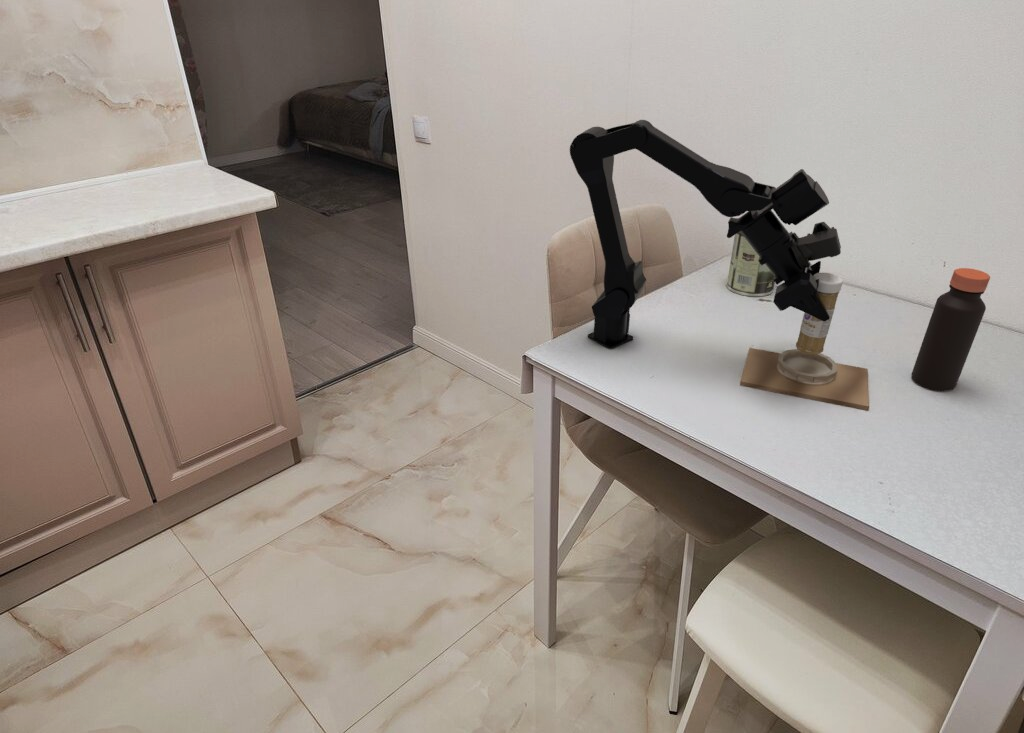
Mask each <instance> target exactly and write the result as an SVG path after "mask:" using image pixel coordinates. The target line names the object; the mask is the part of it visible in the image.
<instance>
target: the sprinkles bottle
mask: <svg viewBox="0 0 1024 733" xmlns="http://www.w3.org/2000/svg"><path fill="white" fill-rule="evenodd" d="M813 277H814V279H815V280H817V279H819V286H818V289H817V293H818V295H819V297H820V299H821V301H822V303H823V304H824V306H825V308H826V310H827V312H828V314H829V316H830V319H829V320H827V321H822V320H820V319H817V318H815V317H813V316H811V315H809V314H807V313H805V312H803V316H802V320H801V324H800V329H799V330H800V331H799V333H798V337H797V338H798V339H797V340H796V343H795V347H796V349H798V350H799V351H801V352H803V353H806V354H819V353H821V354H822V353H823V352H824V347H825V344H826V340H827V336H828V334H829V331H830V327H831V325H832V324H831V323H832V320H833V316H834V312H835V309H836V304H837V300H838V297H839V294H840V291H841V290H842V286H843V281H844V280H843V278H842V277H841V276H839V275H838V274H834V273H831V272H819V273H816V274H814V275H813Z"/></svg>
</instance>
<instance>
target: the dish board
mask: <svg viewBox="0 0 1024 733" xmlns="http://www.w3.org/2000/svg"><path fill="white" fill-rule="evenodd" d="M739 382H740V383H739V386H742V387H747V388H752V389H757V390H762V391H768V392H774V393H777V394H783V395H788V396H792V397H798V398H801V399H807V400H813V401H817V402H823V403H828V404H832V405H837V406H844V407H849V408H853V409H857V410H862V411H869V409H870V390H869V369H868V368H866V367H859V366H854V365H850V364H849V365H848V364H842V363H838V362H837V363H836V362H835V360H833V359H832V358H831V357H829V356H828V355H825V354H822V353H819V354H806V353H803V352H801V351H799V350H798V349H797V348H795V349H787V350H784V351H783V352H775V351H771V350H764V349H760V348H759V349H758V348H753V347H749V349H748V352H747V356H746V360H745V364H744V368H743V371H742V374H741V378H740V381H739Z"/></svg>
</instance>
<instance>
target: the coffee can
mask: <svg viewBox="0 0 1024 733" xmlns="http://www.w3.org/2000/svg"><path fill="white" fill-rule="evenodd" d="M758 260H759V255H758V254H757V253H756V252H755V250H754V249H753V248H752V246H751V245H750V244H749V243H748V241H747V240H746V239H745V237H744V236H743V235H742V234H741V232H738V233H737V234H735V235H734V236H733V244H732V250H731V257H730V261H729V262H730V263H729V268H728V269H729V270H728V274H727V281H726V288H727V289H728V290H729V291H731V292H733V293H735V294H737V295H740V296H746V297H752V298H753V297H757V298H760V297H765V296H769V295H771V294H772V293H773V292H774V290H775V289H774V288H775V285H776V283H775V282H774V280H773V279H774V275H773V273H772V272H771V271H770V270H769V268H768V267H767V266H766V264H763V265H761V264H760V263H759V261H758Z"/></svg>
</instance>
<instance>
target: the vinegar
mask: <svg viewBox="0 0 1024 733" xmlns="http://www.w3.org/2000/svg"><path fill="white" fill-rule="evenodd" d="M990 279H991V276H990V275H989V274H988V272H984V271H982V270H979V269H975V268H967V267H965V268H964V267H959V268H955V269H954V270H953V273H952V276H951V279H950V281H949V285H948V286H949V290H948V291H947V292H945V293H942V294H941V295H940V296H938V297H937V299H936V301H935V304H934V307H933V310H932V313H931V317H930V319H929V322H928V324H927V328H926V330H925V333H924V337H923V340H922V342H921V344H920V347H919V351H918V354H917V357H916V359H915V363H914V365H913V369H912V371H911V379H912V381H913V382H914V383H916V385H918V386H920V387H922V388H923V389H927V390H929V391H934V392H950V391H951V390H954V389H955V388H956V387H957V385H958V382H959V379H960V377H961V374H962V372H963V369H964V367H965V364H966V361H967V359H968V356H969V354H970V352H971V348H972V345H973V343H974V340H975V339H976V335H977V332H978V330H979V328H980V326H981V323H982V320H983V318H984V316H985V312H986V308H987V307H986V304H985V303H984V301H983V299H982V298H981V296H982V295H983V294H984V293H985V291H986V290H987V288H988V285H989V282H990Z"/></svg>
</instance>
